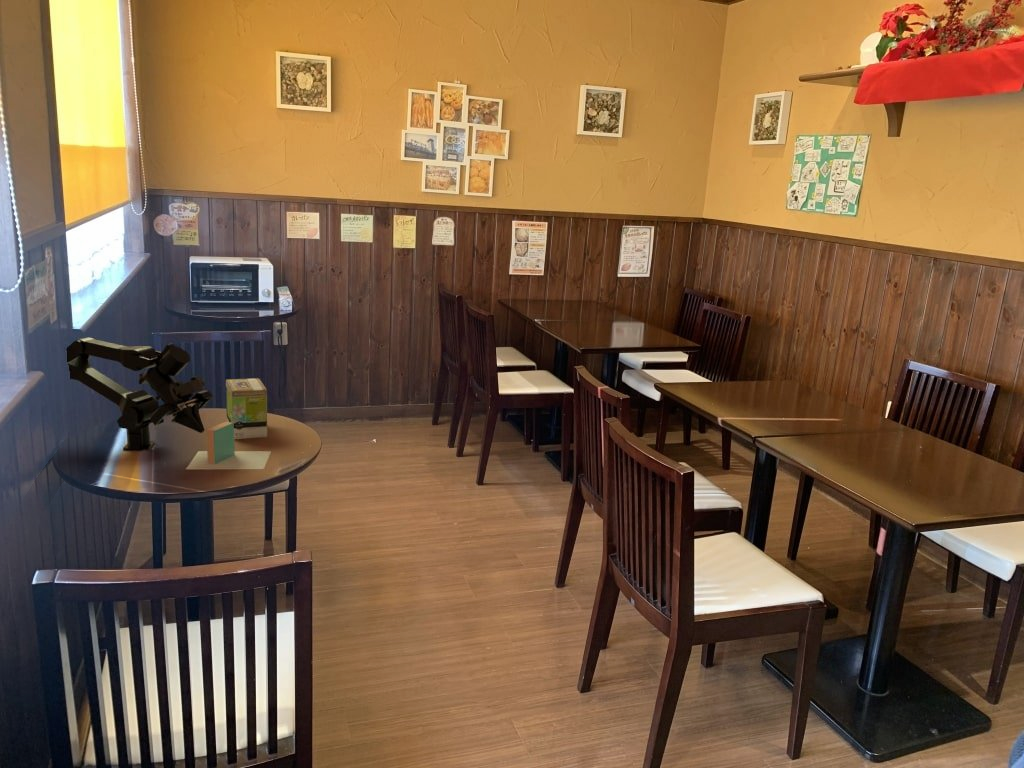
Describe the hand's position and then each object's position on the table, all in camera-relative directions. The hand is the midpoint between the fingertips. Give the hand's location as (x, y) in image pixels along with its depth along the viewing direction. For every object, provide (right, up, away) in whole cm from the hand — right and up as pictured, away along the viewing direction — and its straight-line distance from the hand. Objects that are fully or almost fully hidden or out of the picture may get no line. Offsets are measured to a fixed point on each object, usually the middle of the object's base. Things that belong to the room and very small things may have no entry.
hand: (202, 431), depth 204 cm
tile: (+5, -7, 0) cm, 9 cm away
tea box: (+3, -2, +25) cm, 25 cm away
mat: (+7, -8, 0) cm, 11 cm away
